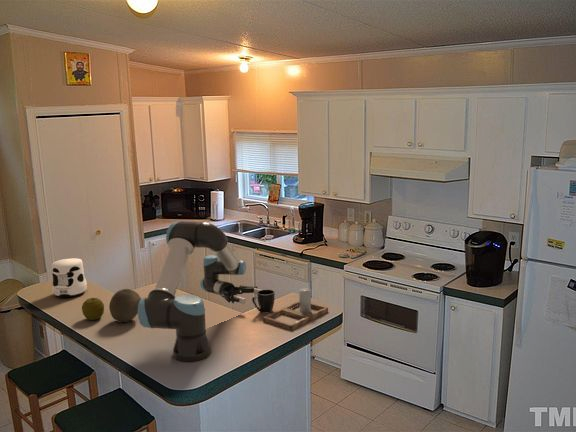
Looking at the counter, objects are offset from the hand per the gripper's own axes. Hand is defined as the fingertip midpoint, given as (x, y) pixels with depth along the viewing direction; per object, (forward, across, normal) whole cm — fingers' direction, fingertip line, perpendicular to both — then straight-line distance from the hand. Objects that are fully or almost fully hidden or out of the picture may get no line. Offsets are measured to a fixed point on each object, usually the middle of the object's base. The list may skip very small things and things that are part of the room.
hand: (254, 297), depth 256 cm
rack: (+22, -4, -6) cm, 24 cm away
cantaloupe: (-38, +47, -6) cm, 61 cm away
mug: (+6, +1, -6) cm, 9 cm away
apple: (-53, +55, -6) cm, 77 cm away
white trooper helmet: (-97, +44, -6) cm, 106 cm away
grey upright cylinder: (+22, -11, -6) cm, 26 cm away
